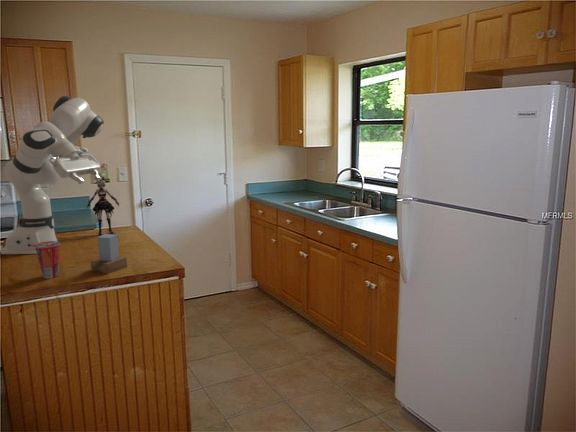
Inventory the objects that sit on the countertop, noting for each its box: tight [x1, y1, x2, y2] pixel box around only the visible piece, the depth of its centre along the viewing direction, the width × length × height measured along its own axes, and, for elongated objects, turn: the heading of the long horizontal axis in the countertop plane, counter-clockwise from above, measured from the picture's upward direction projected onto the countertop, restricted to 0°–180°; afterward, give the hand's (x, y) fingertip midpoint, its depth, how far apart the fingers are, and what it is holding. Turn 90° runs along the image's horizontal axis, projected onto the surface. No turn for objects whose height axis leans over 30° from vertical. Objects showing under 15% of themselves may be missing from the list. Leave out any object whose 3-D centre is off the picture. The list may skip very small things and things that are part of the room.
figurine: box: [86, 173, 120, 237], centre depth 230 cm, size 15×6×30 cm, turn 117°
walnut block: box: [90, 256, 128, 274], centre depth 180 cm, size 9×9×4 cm
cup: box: [30, 240, 61, 279], centre depth 171 cm, size 9×8×12 cm
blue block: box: [96, 233, 120, 262], centre depth 178 cm, size 5×5×9 cm
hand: (90, 181), depth 187 cm, fingers open, 8 cm apart
